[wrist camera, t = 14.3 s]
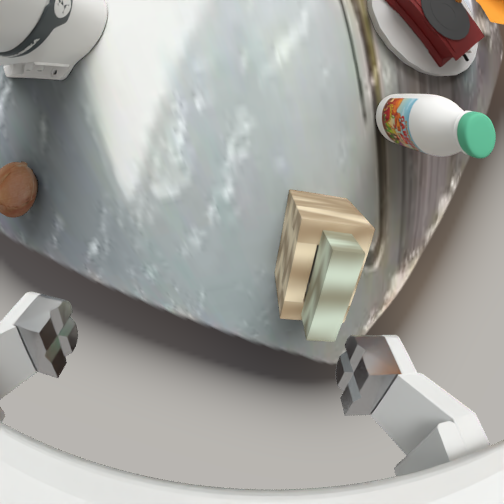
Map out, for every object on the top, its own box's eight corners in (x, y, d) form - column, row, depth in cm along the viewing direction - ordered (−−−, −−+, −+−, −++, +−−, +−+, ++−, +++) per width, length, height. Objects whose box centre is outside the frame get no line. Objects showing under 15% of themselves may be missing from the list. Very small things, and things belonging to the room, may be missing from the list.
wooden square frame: (326, 277, 51) (343, 322, 40) (274, 272, 50) (280, 318, 39) (346, 198, 44) (375, 229, 34) (289, 189, 44) (301, 218, 33)
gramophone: (414, -47, 24) (499, -98, 1) (487, 44, 30) (592, 45, 8) (339, -3, 30) (417, -81, 8) (426, 99, 37) (549, 117, 14)
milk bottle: (391, 83, 36) (476, 80, 18) (425, 116, 38) (514, 136, 20) (364, 121, 39) (440, 138, 21) (400, 153, 41) (482, 190, 23)
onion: (26, 185, 45) (-16, 204, 38) (28, 145, 40) (-19, 162, 32) (46, 215, 45) (2, 238, 37) (49, 173, 39) (-3, 195, 31)
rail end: (321, 299, 43) (334, 341, 35) (297, 296, 43) (306, 340, 35) (342, 221, 38) (365, 253, 29) (315, 217, 37) (333, 249, 29)
